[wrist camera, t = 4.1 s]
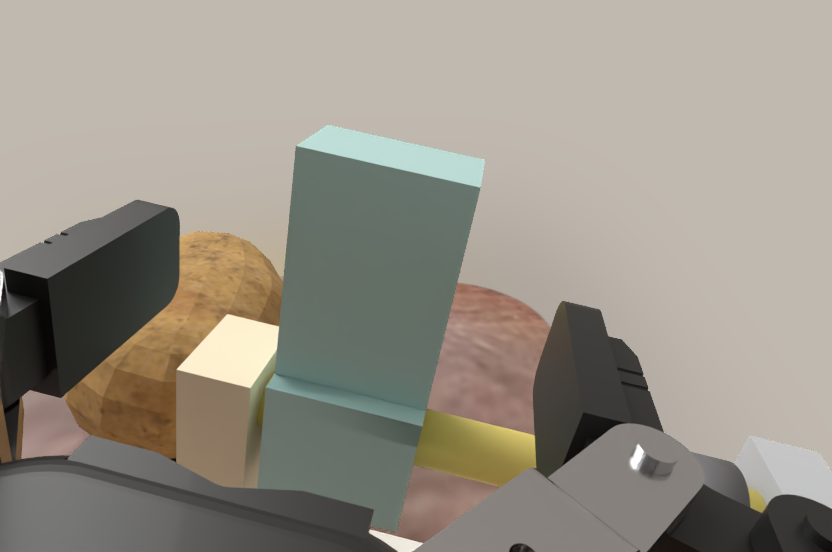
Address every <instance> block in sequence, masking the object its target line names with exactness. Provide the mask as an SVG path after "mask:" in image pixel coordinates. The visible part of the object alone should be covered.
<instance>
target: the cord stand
mask: <svg viewBox="0 0 832 552" xmlns="http://www.w3.org/2000/svg"><path fill="white" fill-rule="evenodd" d="M278 332H279V326H274V325H270V324H266V323H262V322H258V321H254V320H250V319H246V318H242V317H237V316H233V315H229V314H227V315H226V316H225V317H224V318H223V319H222V320H221V322H220V323H219V324H218V325H217V326H216V327H215V328H214V329H213V330H212V331H211V332H210V334H209V335H208V336H207V337H206V338H205V339H204V340H203V341H202V342H201V343H200V344H199V346H198V347H197V348H196V349H195V350H194V351H193V352H192V353H191V354H190V355H189V356H188V357H187V359H186V360H185V361H184V362H183V363H182V364H181V365H180V366H179V367H178V368H177V369H176V463H178V464H180V465H182V466H184V467H185V468H187V469H189V470H191V471H193V472H195V473H196V474H198V475H200V476H202V477H204V478H206V479H208V480H209V481H211V482H213V483H215V484H217V485H220V486H224V487H235V488H256V489H257V483H258V472H259V460H260V449H261V437H262V426H263V414H264V402H265V391H266V386H267V385H268V383H269V382H270V380H271V378H272V377H273V375H274V374H275V364H276V354H277V343H278ZM691 453H692V454H693V455H694V456H695V458H696V459H697V460H698V462H699V464H700V465H701V467H702V470H703V473H704V483H703V484H705V485H706V486H708V487H709V488H711V489H713V490H715V491H717V492H719V493H720V494H722V495H725V496H727V497H729V498H731V499H733V500H735V501H737V502H739V503H742V504H744V505H746V506H748V507H750V508H752V509H754V510H756V511H759V512H761V513H763V511H764V510H765V508H766V506H767V505H768V503H769V502H770V500H771V499H772V498H774V497H775V496H778V495H784V494H790V495H798V496H802V497H806V498H809V499H812V500H814V501H817V502H819V503H821V504H824V505H825V506H827V507H829V508H831V509H832V471H831V469H830V468H829V467H828V465H827V464H826V462H825V461H824V459H823V458H822V456H821V455H820V453H819V452H816V451H812V450H808V449H804V448H800V447H796V446H792V445H787V444H784V443H779V442H775V441H771V440H767V439H763V438H759V437H755V436H750V437H749V438H748V440H747V442H746V443H745V445H744V447H743V449H742V451H741V452H740V454H739V456H738V457H737V459H736V461H735V463H732V462H729V461H726V460H722V459H717V458H713V457H709V456H705V455H701V454H697V453H693V452H691ZM413 465H416V466H420V467H424V468H427V469H431V470H435V471H439V472H443V473H447V474H451V475H455V476H459V477H463V478H467V479H471V480H475V481H479V482H483V483H487V484H491V485H495V486H499V487H502V486H504V485H505V484H506V483H508V482H509V481H511V480H512V479H513V478H515V477H516V476H517V475H519V474H520V473H522V472H523V471H525V470H527V469H529V468H536V451H535V435H531V434H527V433H523V432H519V431H515V430H511V429H507V428H503V427H499V426H494V425H490V424H486V423H482V422H478V421H474V420H470V419H466V418H462V417H458V416H454V415H450V414H446V413H442V412H438V411H434V410H430V409H426V412H425V417H424V421H423V426H422V430H421V434H420V438H419V442H418V447H417V451H416V455H415V459H414V463H413ZM369 533H370V534H372V535H373V536H375V537H377V538H379V539H381V540H382V541H384V542H385V543H387V544H388V545H389V546H391V547H392V548H394V549H395V550H397V551H398V552H412V551H414V550H415V549H417V548H418V547H419V546H421V545H422V544H423V543H420V542H416V541H412V540H408V539H405V538H401V537H397V536H393V535H389V534H385V533H382V532H378V531H374V530H370V531H369Z"/></svg>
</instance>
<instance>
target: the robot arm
mask: <svg viewBox="0 0 832 552" xmlns="http://www.w3.org/2000/svg"><path fill="white" fill-rule="evenodd" d="M179 235H180V222H179V216H178V213H177V211H176V210H175V209H174V208H170V207H166V206H162V205H157V204H153V203H149V202H145V201H140V200H135V201H133V202H131V203H129V204H127V205H125V206H123V207H121V208H119V209H117V210H115V211H113V212H111V213H109V214H108V215H106V216H104V217H102V218H97V219H93V220H88V221H84V222H80V223H78V224H76V225H74V226H72V227H70V228H68V229H66V230H64V231H62V232H61V234H60V235H58V234H57V235H54V236H52V237H50V238H48V239H46V240H45V241H44V243H38V244H36V245H35V246H32V247H30V248H28V249H26V250H24V251H22V252H21V253H18V254H16V255H14V256H12V257H10V258H8V259H6V260H4V261H2V262H0V552H398V551H397V550H395V549H394V548H392V547H391V546H389V545H388V544H387V543H385V542H384V541H382V540H381V539H379V538H377V537H375V536H373V535H372V534H370V533H369V531H370V526H371V522H372V517H373V512H374V509H371V508H367V507H363V506H359V505H355V504H352V503H348V502H344V501H340V500H336V499H332V498H329V497H325V496H321V495H317V494H313V493H310V492H306V491H298V490H277V489H256V488H235V487H224V486H220V485H217V484H215V483H213V482H211V481H209V480H208V479H206V478H204V477H202V476H200V475H198V474H196V473H195V472H193V471H191V470H189V469H187V468H185V467H184V466H182V465H180V464H178V463H176V462H174V461H172V460H171V459H169V458H167V457H165V456H163V455H161V454H160V453H157V452H153V451H149V450H145V449H142V448H138V447H134V446H130V445H126V444H122V443H119V442H115V441H111V440H107V439H103V438H100V437H96V436H92V435H90V436H89V437H88V438H87V439H86V440H85V441H84V442H83V443H82V444H81V445H80V446H79V447H78V448H77V449H76V450H75V451H74V452H73V453H72V454H71V455H70V456H42V457H34V458H26V459H21V452H22V436H23V419H24V408H23V401H22V396H23V395H24V394H25V393H27V392H28V391H29V390H32V391H36V392H40V393H44V394H47V395H51V396H55V397H59V398H61V397H63V396H64V395H65V394H66V393H67V392H68V391H70V390H71V389H72V388H73V387H74V386H75V385H76V384H78V383H79V382H80V381H81V380H82V379H83V378H85V377H86V376H87V375H88V374H89V373H90V372H92V371H93V370H94V369H95V368H96V367H97V366H98V365H100V364H101V363H102V362H103V361H104V360H105V359H107V358H108V357H109V356H110V355H111V354H112V353H113V352H115V351H116V350H117V349H118V348H119V347H120V346H122V345H123V344H124V343H125V342H126V341H127V340H128V339H130V338H131V337H132V336H133V335H134V334H135V333H137V332H138V331H139V330H140V329H141V328H142V327H143V326H145V325H146V324H147V323H148V322H149V321H150V320H152V319H153V318H154V317H155V316H156V315H157V314H158V313H160V312H161V311H162V310H163V309H164V308H165V307H167V306H168V305H169V304H170V302H171V301H172V299H173V298H174V296H175V294H176V291H177V288H178V284H179V276H180V236H179ZM533 408H534V429H535V451H536V468H529V469H527V470H525V471H523V472H522V473H520V474H519V475H517V476H516V477H515V478H513V479H512V480H511V481H509V482H508V483H506V484H505V485H504V486H502V487H501V488H499V489H498V490H497V491H495V492H494V493H493V494H491V495H490V496H488V497H487V498H486V499H484V500H483V501H481V502H480V503H479V504H477V505H476V506H475V507H473V508H472V509H470V510H469V511H468V512H466V513H465V514H464V515H462V516H461V517H459V518H458V519H457V520H455V521H454V522H452V523H451V524H450V525H448V526H447V527H446V528H444V529H443V530H441V531H440V532H439V533H437V534H436V535H434V536H433V537H432V538H430V539H429V540H428V541H426V542H425V543H423V544H422V545H421V546H419V547H418V548H417V549H415V550H414V551H412V552H832V509H831V508H829V507H827V506H825V505H824V504H821V503H819V502H817V501H814V500H812V499H809V498H806V497H802V496H798V495H790V494H784V495H778V496H775V497H774V498H772V499H771V500H770V502H769V503H768V505H767V506H766V508H765V510H764V511H763V513H761V512H759V511H756V510H754V509H752V508H750V507H748V506H746V505H744V504H742V503H739V502H737V501H735V500H733V499H731V498H729V497H727V496H725V495H722V494H720V493H719V492H717V491H715V490H713V489H711V488H709V487H708V486H706V485H705V484H703V483H704V473H703V470H702V467H701V465H700V464H699V462H698V460H697V459H696V458H695V456H694V455H693V454H692V453H691V452H690V451H689V450H688V449H687V448H686V447H685V446H683V445H682V444H681V443H680V442H678V441H677V440H675V439H674V438H672V437H671V436H669V435H667V434H665V433H664V432H663V429H662V426H661V423H660V420H659V417H658V414H657V411H656V409H655V406H654V403H653V400H652V397H651V394H650V392H649V391H648V386H647V383H646V380H645V377H643V371H642V368H641V366H640V363H639V360H638V357H637V356H636V355H635V354H634V352H633V351H632V350H631V349H630V348H629V347H628V346H627V345H626V344H625V343H624V342H623V341H622V340H621V339H617V338H612V337H609V336H608V335H607V331H606V327H605V324H604V320H603V317H602V313H601V311H600V310H599V309H595V308H591V307H587V306H582V305H578V304H574V303H570V302H565V301H562V302H561V303H560V305H559V307H558V309H557V311H556V314H555V317H554V320H553V323H552V326H551V329H550V332H549V335H548V338H547V341H546V344H545V347H544V350H543V353H542V356H541V359H540V361H539V364H538V368H537V371H536V376H535V381H534V387H533Z"/></svg>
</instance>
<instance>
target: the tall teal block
mask: <svg viewBox="0 0 832 552" xmlns="http://www.w3.org/2000/svg"><path fill="white" fill-rule="evenodd" d="M484 164H485V160H483V159H478V158H474V157H469V156H465V155H461V154H456V153H452V152H447V151H443V150H438V149H434V148H430V147H425V146H421V145H416V144H411V143H407V142H402V141H398V140H394V139H389V138H385V137H380V136H375V135H371V134H367V133H362V132H358V131H353V130H349V129H345V128H340V127H335V126H331V125H327V126H326V127H324V128H323V129H321V130H319V131H318V132H316V133H315V134H313V135H312V136H310V137H309V138H307V139H306V140H304V141H303V142H301V143H300V144H298V145H297V146H296V151H295V163H294V173H293V183H292V195H291V205H290V215H289V226H288V237H287V248H286V258H285V269H284V279H283V290H282V300H281V311H280V322H279V332H278V343H277V354H276V364H275V374H274V375H273V377H272V378H271V380H270V382H269V383H268V385H267V386H266V391H265V402H264V414H263V426H262V437H261V449H260V460H259V472H258V483H257V489H277V490H298V491H306V492H310V493H313V494H317V495H321V496H325V497H329V498H332V499H336V500H340V501H344V502H348V503H352V504H355V505H359V506H363V507H367V508H371V509H374V512H373V517H372V522H371V526H373V527H377V528H381V529H385V530H389V531H393V532H397V528H398V524H399V520H400V516H401V512H402V508H403V503H404V499H405V495H406V491H407V487H408V483H409V479H410V475H411V471H412V467H413V463H414V459H415V455H416V451H417V447H418V442H419V438H420V434H421V430H422V426H423V421H424V417H425V412H426V408H427V404H428V400H429V396H430V391H431V387H432V383H433V379H434V375H435V371H436V367H437V363H438V359H439V355H440V351H441V347H442V343H443V338H444V334H445V330H446V326H447V322H448V318H449V314H450V310H451V306H452V302H453V298H454V294H455V290H456V286H457V281H458V277H459V273H460V269H461V265H462V261H463V257H464V253H465V249H466V245H467V241H468V237H469V233H470V229H471V224H472V220H473V216H474V212H475V208H476V204H477V200H478V196H479V191H480V188H481V181H482V175H483V170H484Z"/></svg>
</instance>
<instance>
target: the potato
mask: <svg viewBox="0 0 832 552" xmlns="http://www.w3.org/2000/svg"><path fill="white" fill-rule="evenodd" d="M282 290H283V282H282V280H281V279H280V277H279V275H278V274H277V272H276V270H275V268H274V267H273V265H272V264H271V262H270V260H269V259H268V258H266V257H265V256H264V255H263V254H262V253H261V252H260V251H259V250H258V249H257V248H256V247H255V246H254V245H253V244H251V243H250V242H249V241H246V240H244V239H241V238H239V237H236V236H234V235H231V234H228V233H214V232H200V231H198V232H194V233H190V234H187V235H184V236H181V237H180V276H179V284H178V288H177V291H176V294H175V296H174V298H173V299H172V301H171V302H170V304H169V305H168V306H167V307H165V308H164V309H163V310H162V311H161V312H160V313H158V314H157V315H156V316H155V317H154V318H153V319H152V320H150V321H149V322H148V323H147V324H146V325H145V326H143V327H142V328H141V329H140V330H139V331H138V332H137V333H135V334H134V335H133V336H132V337H131V338H130V339H128V340H127V341H126V342H125V343H124V344H123V345H122V346H120V347H119V348H118V349H117V350H116V351H115V352H113V353H112V354H111V355H110V356H109V357H108V358H107V359H105V360H104V361H103V362H102V363H101V364H100V365H98V366H97V367H96V368H95V369H94V370H93V371H92V372H90V373H89V374H88V375H87V376H86V377H85V378H83V379H82V380H81V381H80V382H79V383H78V384H76V385H75V386H74V387H73V388H72V389H71V390H70V391H68V392H67V393H66V394H65V400H66V402H67V404H68V406H69V408H70V410H71V412H72V414H73V416H74V418H75V420H76V422H77V424H78V425H79V427H81V428H82V429H83V430H85V431H86V432H88V433H89V434H90V435H92V436H96V437H100V438H103V439H107V440H111V441H115V442H119V443H122V444H126V445H130V446H134V447H138V448H142V449H145V450H149V451H153V452H157V453H160V454H161V455H163V456H165V457H167V458H169V459H173V458H176V369H177V368H178V367H179V366H180V365H181V364H182V363H183V362H184V361H185V360H186V359H187V357H188V356H189V355H190V354H191V353H192V352H193V351H194V350H195V349H196V348H197V347H198V346H199V344H200V343H201V342H202V341H203V340H204V339H205V338H206V337H207V336H208V335H209V334H210V332H211V331H212V330H213V329H214V328H215V327H216V326H217V325H218V324H219V323H220V322H221V320H222V319H223V318H224V317H225V316H226V315H227V314H229V315H233V316H237V317H242V318H246V319H250V320H254V321H258V322H262V323H266V324H270V325H274V326H279V322H280V311H281V300H282Z"/></svg>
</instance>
